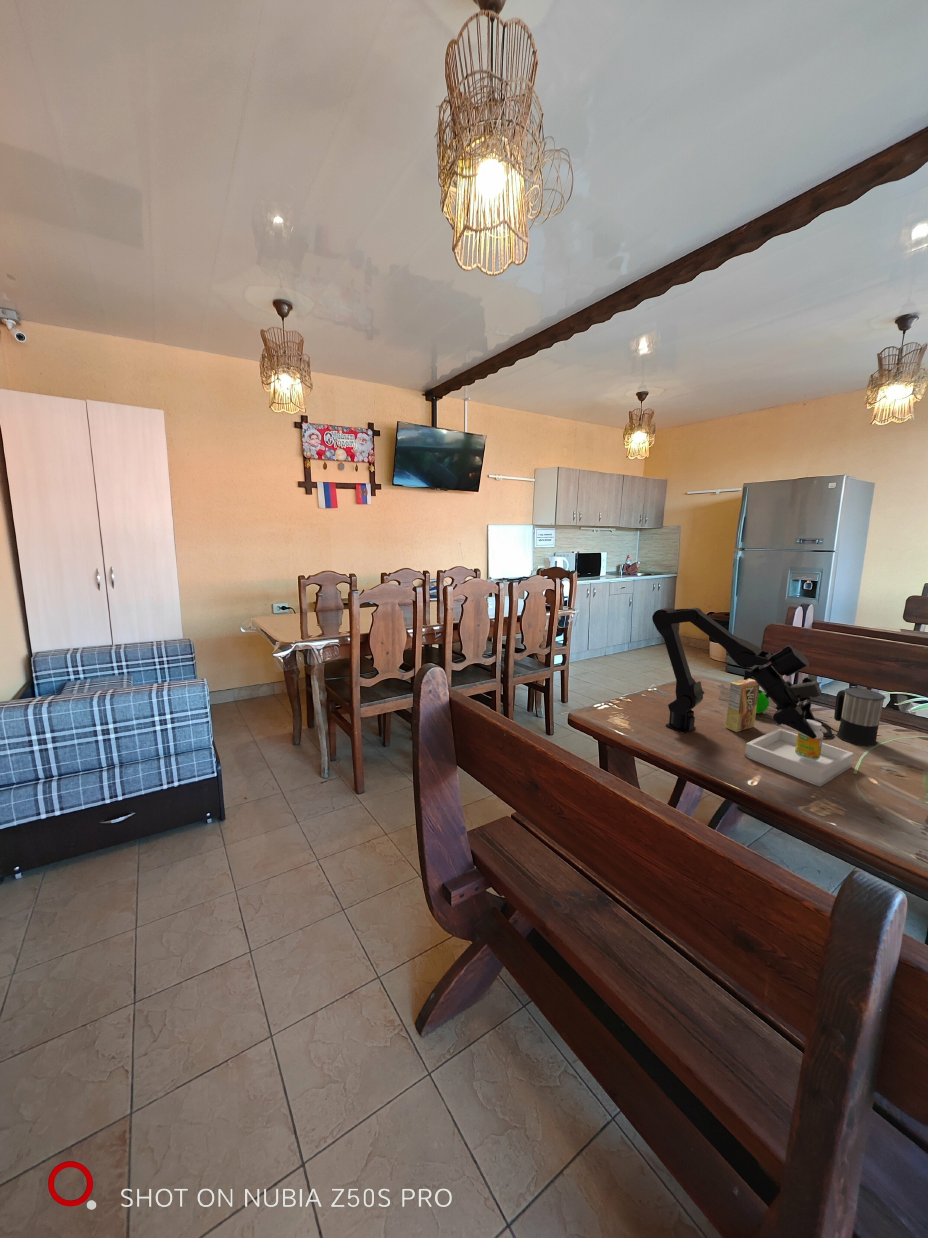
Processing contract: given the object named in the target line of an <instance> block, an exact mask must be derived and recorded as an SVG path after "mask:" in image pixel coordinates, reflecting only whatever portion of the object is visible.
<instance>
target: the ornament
mask: <svg viewBox="0 0 928 1238" xmlns="http://www.w3.org/2000/svg"><path fill="white" fill-rule="evenodd" d="M765 694H766V692H763V691H762V690H761V689H759V693H758V701H757V708H756V714H762V713H763V712H766V711H767V710H768V708H769V706H770V697H769V698H767V697H766V696H765Z"/></svg>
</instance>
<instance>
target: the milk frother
mask: <svg viewBox="0 0 928 1238" xmlns="http://www.w3.org/2000/svg"><path fill="white" fill-rule="evenodd" d="M885 699H886V696H885V695H884V694H882V693H880V692H878V691H874V690H870V689H866V688H860V687H847V688H845V689H841V690H839V691H838V692H837V693H836V697H835V703H834V704H835V705H834V706H835V707H834V715H833V717H834V718H833V719H834V720H835V721H837V722H839V728H838V730H837V729H835V728H833V727H831V726H830V725H828V724H827V723H826V722H823V721H822V720H820V719H816V718H815V720H816V721H818V722H820V723H821V724H822V726H821V727H822V728H824V729H825V731H826V732H825V733H823V738H830V737H831V736H832V735H833V731H834V733H835V732H836V736H837V737H838V739H840V740H842V741H844V742H847V743H850V744H854V745H857V746H862V747H874V746H876V745H877V744H878V742H877V737H878V732H879V731H878V730H879V726H880V725H879V724H880V721H881V716H882V710H883V707H884V706H883V705H884V702H885V701H884V700H885ZM822 728H821V730H820V731H822V730H823V729H822Z"/></svg>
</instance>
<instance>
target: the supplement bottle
mask: <svg viewBox="0 0 928 1238" xmlns="http://www.w3.org/2000/svg"><path fill="white" fill-rule="evenodd" d="M806 720H807V722H808V723H809V725H810V726H811V728H812V729H813V731H814V733H815V734H816V736H817V737H816V738H814V739H812V738H810V737H808V736H807V735H805V734H803V733H801V732H799V731H797V734H798V736H797V742H796V748H795V753H796V755H798V756H799V757H801V758H804V759H808V760H818V759H819V758H820V753H821V747H822V743H823V741H824V737H823V734H824V733H823V731H822V730H821V729H822V727H823V726H822V724H821V723H820V722H818V721H815V720H810V719H806ZM820 730H821V731H820Z"/></svg>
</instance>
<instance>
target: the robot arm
mask: <svg viewBox="0 0 928 1238" xmlns="http://www.w3.org/2000/svg"><path fill="white" fill-rule="evenodd" d="M651 618H652V620H651V621H652V623H653V625H654V627H655V629H656V631H657V633H659V635H660V636H661V637H662V639H663V641H664V644H665V648H666V651H667V654H668V658H669V660H670V665H671V667H672V671H673V674H674V678H675V683H676V684H675V691H674V692H675V698H676V699H674V700H673V701H671V702H670V703H668V705H667V706H668V710H669V717H668V718H669V720H668V723H666V724H665V727H667V726H668V728H670V729H672V730H675V731H676V732H677V731H678V732H680V733H682V734H685V733H688V732H690V731H693V730H696V726H695V720H696V717H695V711H694V710H692V709H694V708H696V707H697V706H698V705H699V704H701V703H702V701H703V699H704V694H705V691H704V690H703V688H702V686H703V685H702V681H695V679H694V678H693V677H692V674H691V670H690V667H689V664H688V659H687V657H686V655H685V651H684V647H683V644H682V641H681V637H680V624H682V623H691V624H692V625H694V626H695V627H697V628H698V629H699V630H700V631H701V632H703V633H704V634H705V635H707V636H708V637H709V638H711V639H712V640H713V641H714V642H716V643H717V644H719V646H722V648H723V649H724V650H725V651H726V653H727V655H728V656H729V657H730V658H731V659H732V661H733V662H734V663H735V664H737V666H739V667H740V668H743V669H744V676H743V680H747V679H752V680H755V681H756V682H757V683H758V684H759V688H761V689H762V690H763V691H764V693H765V696H766V697H767V698H769V699H771V701H772V702H773V703H774V704H775V706H776V707H775V709H776V711H775V712H774V713H773V714H772V721H773V722H774V723H775V725H776V726H781V725H784V726H787V727H790V728H792V729H794V730H795V731H797V732H798V731H799V732H801V733H803V734H805V735H807V736H808V737H810V738H812V739H814V738H816V737H817V736H816V734H815V733H814V731H813V729H812V728H811V726H810V725H809V723H808V722H807V720H806V719H810V720H815V719H816V718H815V716H814V714H813V712H812V710H811V708H812V703H813V701H812V698H817V697H820V696H821V694H822V689H821V687H820V682H818V680H816V679H815V680H814V679H813V678H812V677H811V676H807V677H803V678H802V682H798V683H795V684H793V683H792V681H791V680H790V681H789V680H786V681H785V679H784V678H783V677H782V676H786V677H791V676H793V675H795V674H797V673H798V672H799V671H801V670H803V669H805V668H807V667H809V666H810V662H809V660H808V657H806V656H805V655H804V654H803V653H802V652H801V651H799V650H798V649H797V648H795V647H793V646H792V645H791V644H788V645H786V646H785V647H783V649H781V650H779V651H778V652H776V653H773V652H770V651H766V650H762V649H761V648H760V646H757V645H755V644H753V643H751V642H750V641H748V640H746V639H743V638H740V637H738V636H736V635H734V634H733V633H731V632H730V631H729V630H727V629H726V628H725V627H724V626H722V625H721V624H720V623H718V622H717V621H715V620H714V619H712V618H711V617H710V616H709V615H707V614H706V612H705V613H704V611H702V610H701V608H699V607H692V608H676V609H675V608H674V607H670V606H665V607H663V608H660V609H657V610H656V611H655V612H654V613H653V614H652V617H651ZM769 662H770V663H769ZM754 666H755V667H754ZM753 667H754V668H753ZM749 668H752V669H749ZM807 700H810V701H808V702H807ZM815 721H816V720H815Z"/></svg>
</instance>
